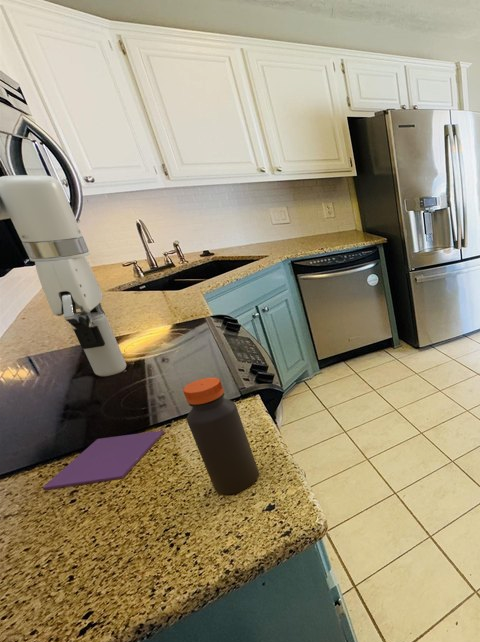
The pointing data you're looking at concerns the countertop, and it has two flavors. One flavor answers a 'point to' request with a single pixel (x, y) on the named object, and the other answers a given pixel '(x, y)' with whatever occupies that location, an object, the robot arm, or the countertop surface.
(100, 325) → the beverage can
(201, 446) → the bottle
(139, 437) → the cloth
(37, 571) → the countertop surface
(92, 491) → the countertop surface
